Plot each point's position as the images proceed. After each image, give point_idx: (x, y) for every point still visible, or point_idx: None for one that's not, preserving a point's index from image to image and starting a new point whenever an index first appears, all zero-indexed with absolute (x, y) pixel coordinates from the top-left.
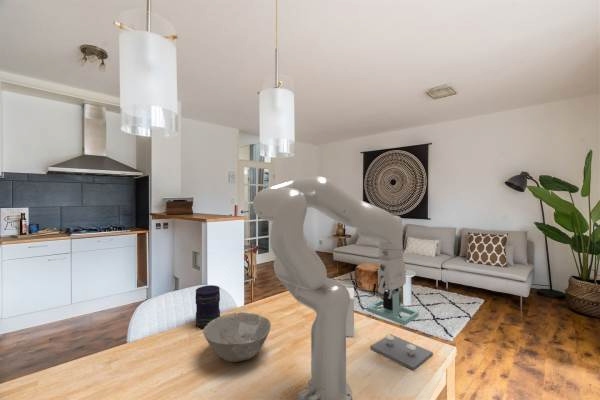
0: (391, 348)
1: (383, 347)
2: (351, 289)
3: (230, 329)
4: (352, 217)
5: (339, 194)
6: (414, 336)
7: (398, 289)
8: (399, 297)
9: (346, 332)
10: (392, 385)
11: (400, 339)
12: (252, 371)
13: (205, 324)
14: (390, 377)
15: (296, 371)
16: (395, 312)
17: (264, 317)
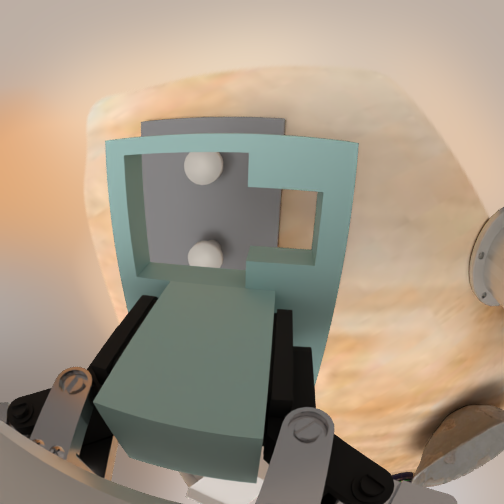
0: (229, 232)
1: (246, 255)
2: (202, 486)
3: (438, 463)
4: None
5: None
6: (97, 219)
7: (81, 422)
8: (120, 347)
9: None
10: (404, 142)
11: (152, 237)
12: (489, 381)
13: (411, 478)
14: (375, 162)
15: (470, 345)
16: (253, 279)
17: (421, 472)
